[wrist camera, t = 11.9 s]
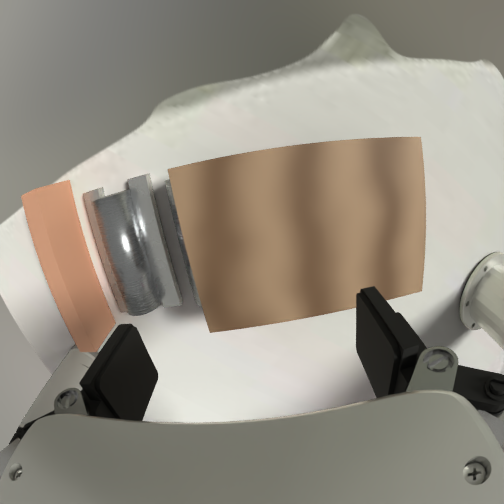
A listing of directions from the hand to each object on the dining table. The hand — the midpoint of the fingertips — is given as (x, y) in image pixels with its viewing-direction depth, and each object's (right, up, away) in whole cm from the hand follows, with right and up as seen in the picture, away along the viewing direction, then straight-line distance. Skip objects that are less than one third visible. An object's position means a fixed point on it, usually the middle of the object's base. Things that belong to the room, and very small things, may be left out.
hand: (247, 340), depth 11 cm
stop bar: (-19, +3, +17) cm, 26 cm away
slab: (+5, +6, +12) cm, 14 cm away
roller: (-12, +4, +17) cm, 21 cm away
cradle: (-12, +4, +17) cm, 21 cm away
